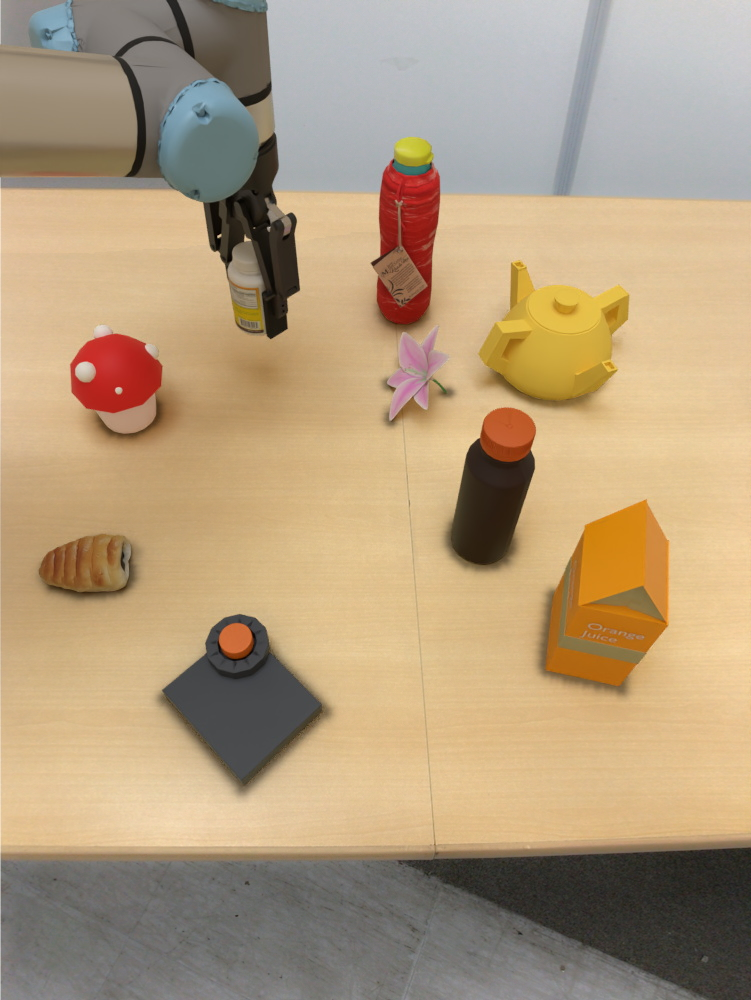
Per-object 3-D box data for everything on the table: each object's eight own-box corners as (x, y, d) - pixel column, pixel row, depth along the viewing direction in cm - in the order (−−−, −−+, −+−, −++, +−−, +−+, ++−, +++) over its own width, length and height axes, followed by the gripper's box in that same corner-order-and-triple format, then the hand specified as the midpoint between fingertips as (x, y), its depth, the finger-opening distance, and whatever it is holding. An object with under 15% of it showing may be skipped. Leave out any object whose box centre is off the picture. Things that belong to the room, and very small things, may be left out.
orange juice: (623, 610, 80) (692, 506, 63) (620, 687, 75) (694, 597, 58) (551, 595, 81) (600, 488, 64) (543, 670, 76) (594, 576, 59)
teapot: (469, 390, 97) (482, 321, 88) (502, 310, 106) (517, 239, 97) (596, 426, 94) (624, 358, 85) (618, 341, 103) (646, 270, 93)
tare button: (214, 644, 73) (212, 637, 72) (239, 623, 75) (237, 616, 73) (235, 665, 72) (232, 659, 71) (260, 644, 73) (258, 637, 72)
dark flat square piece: (159, 689, 74) (151, 676, 71) (245, 618, 78) (241, 603, 76) (243, 786, 69) (238, 776, 66) (330, 703, 73) (329, 691, 70)
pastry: (41, 602, 79) (27, 584, 76) (48, 548, 83) (36, 529, 80) (130, 592, 80) (121, 574, 77) (134, 539, 84) (125, 520, 81)
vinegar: (440, 525, 85) (460, 410, 69) (492, 507, 87) (524, 391, 70) (466, 573, 82) (493, 464, 65) (520, 554, 83) (560, 443, 67)
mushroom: (144, 370, 98) (121, 299, 88) (192, 417, 94) (172, 348, 84) (72, 411, 94) (39, 340, 84) (118, 462, 90) (89, 394, 80)
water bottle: (414, 354, 101) (428, 186, 80) (359, 339, 102) (359, 171, 82) (439, 298, 108) (458, 130, 87) (387, 285, 109) (394, 117, 88)
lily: (407, 356, 102) (376, 317, 94) (487, 354, 96) (461, 312, 88) (386, 434, 99) (352, 401, 91) (467, 438, 93) (438, 402, 85)
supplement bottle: (273, 303, 92) (266, 231, 84) (287, 332, 90) (282, 261, 81) (229, 313, 91) (218, 241, 83) (242, 342, 88) (232, 271, 80)
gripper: (331, 158, 69) (335, 343, 88) (207, 84, 76) (235, 270, 95) (270, 190, 66) (287, 375, 85) (147, 109, 73) (188, 296, 92)
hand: (260, 319), depth 90 cm, fingers closed on supplement bottle, 6 cm apart
